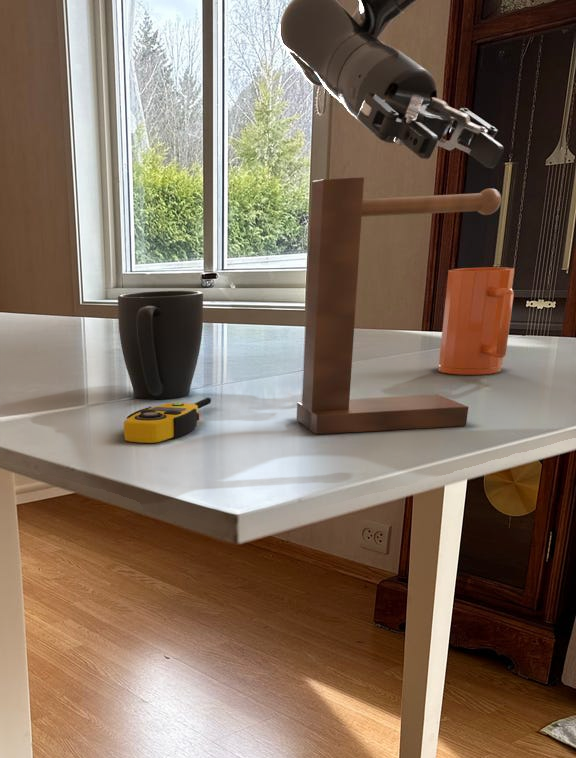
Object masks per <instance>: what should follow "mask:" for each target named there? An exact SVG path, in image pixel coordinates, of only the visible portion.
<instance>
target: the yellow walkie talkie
mask: <svg viewBox="0 0 576 758" xmlns="http://www.w3.org/2000/svg"><path fill="white" fill-rule="evenodd" d="M211 402H212V398H211V397H206V398H204V399H201V400H199V401H196V402H194V403H188V402H187V403H186V402H168V403H163V404H159V405H156V406H155V405H154V406H148V407H145V408H142V409H139V410H136V411H134V412H132V413H130V414H129V415H128V416H127V417H126V419H125V420H124V422H123V435H124V440H125V441H127V442H130V443H139V444H140V443H141V444H142V443H145V444H153V443H154V444H155V443H160V442H164V441H167V440H169V439H177V438H180V437H182V436H185V435H186V434H190V433H191V432H192V431H194V430H195V429H196V428H197V426H198V422H199V420H200V417H201V416H200V412H199V409H201V408H203V407H205V406H208V405H209V404H211Z"/></svg>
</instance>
